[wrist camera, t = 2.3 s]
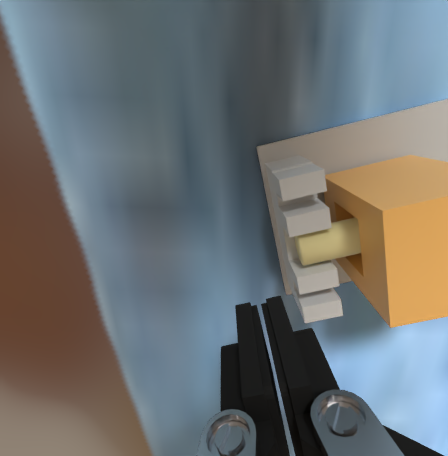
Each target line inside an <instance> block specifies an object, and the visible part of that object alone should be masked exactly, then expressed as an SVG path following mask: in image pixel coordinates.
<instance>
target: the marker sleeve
mask: <svg viewBox="0 0 448 456" xmlns="http://www.w3.org/2000/svg"><path fill="white" fill-rule="evenodd" d="M325 179H326V187H327V191H325V192H324V198H325V205H326V206H328V207H329V210H330V218H331V223H333V222H337V221H341V220H346V219H350V218H355V217H356V218H357V219H358V224H359V234H360V245H361V253H359V254H355V255H350V256H345V257H341V258H336V259H335V260H336V261H337V262H338V264H339V265H340V266H341V267H342V268H343V270H344V271H345V272H346V273H347V275H348V276H349V277H350V278H351V280H352V281H353V282H354V283H355V285H356V286H357V287H358V288H359V290H360V291H361V292H362V293H363V294H364V296H365V297H366V298H367V299H368V301H369V302H370V303H371V304H372V306H373V307H374V308H375V309H376V311H377V312H378V313H379V314H380V316H381V317H382V318H383V319H384V320H385V322H386V323H387V324H388V325H389V327H390V328H392V327H397V326H402V325H407V324H412V323H417V322H422V321H427V320H432V319H437V318H442V317H447V316H448V162H445V161H440V160H435V159H429V158H424V157H419V156H414V155H407V156H403V157H398V158H394V159H390V160H386V161H382V162H377V163H373V164H369V165H365V166H361V167H357V168H352V169H348V170H344V171H340V172H336V173H331V174H327V175H325Z"/></svg>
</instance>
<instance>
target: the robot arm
mask: <svg viewBox="0 0 448 456" xmlns="http://www.w3.org/2000/svg"><path fill="white" fill-rule="evenodd" d="M266 301H267V303H264V304H261V306H262V310H263V315H264V319H265V324H266V328H267V333H268V338H269V342H270V347H271V351H272V356H273V360H274V365H275V369H276V374H277V379H278V383H279V388H280V392H281V396H282V401H283V405H284V409H285V413H286V417H287V422H288V426H289V430H290V434H291V438H292V443H293V447H294V451H295V455H296V456H444V455H442V454H440V453H438V452H436V451H434V450H432V449H430V448H428V447H426V446H424V445H422V444H420V443H418V442H416V441H414V440H412V439H410V438H408V437H406V436H404V435H402V434H400V433H398V432H396V431H394V430H392V429H390V428H388V427H386V426H384V425H382V424H381V422H380V421H379V420H378V418H377V417H376V416H375V414H374V413H373V411H372V410H371V409H370V407H369V406H368V405H367V403H366V402H365V401H364V400H363V399H362V398H360V397H359V396H357V395H356V394H354V393H352V392H348V391H345V390H340V389H339V387H338V385H337V382H336V380H335V378H334V376H333V373H332V371H331V369H330V367H329V364H328V362H327V360H326V358H325V355H324V353H323V351H322V349H321V346H320V344H319V342H318V340H317V337H316V335H315V333H314V331H313V329H312V328H309V329H304V330H299V331H294V332H293V330H292V327H291V324H290V322H289V319H288V316H287V313H286V310H285V307H284V304H283V301H282V298H281V296H277V297H272V298H268V299H266ZM235 307H236V321H237V334H238V343H236V344H231V345H226V346H222V347H221V412H220V413H218V414H216V415H215V416H213V417H212V418H211V419H210V420H209V421H208V422H207V424H206V425H205V427H204V429H203V431H202V434H201V438H200V443H199V447H198V452H197V456H290V454H289V449H288V445H287V440H286V435H285V430H284V425H283V420H282V415H281V411H280V406H279V401H278V396H277V391H276V386H275V381H274V376H273V372H272V367H271V363H270V359H269V354H268V350H267V346H266V342H265V338H264V334H263V330H262V325H261V321H260V317H259V313H258V309H257V305H254V306H251V304H250V302H249V303H244V304H239V305H236V306H235Z"/></svg>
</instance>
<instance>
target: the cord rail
mask: <svg viewBox="0 0 448 456" xmlns="http://www.w3.org/2000/svg"><path fill="white" fill-rule="evenodd" d="M256 148H257V153H258V158H259V163H260V168H261V173H262V178H263V183H264V188H265V193H266V198H267V203H268V208H269V213H270V218H271V223H272V228H273V233H274V238H275V243H276V248H277V253H278V258H279V263H280V268H281V273H282V278H283V283H284V288H285V292H286V295H289V294H293V296H294V298H295V301H296V303H297V305H298V307H299V310H300V312H301V315H302V317H303V319H304V322H305V323H310V322H315V321H319V320H324V319H329V318H334V317H339V316H343V310H342V303H341V299H340V297H339V296H338V294H337V293H336V291H335V290H334V287H338V286H339V284H341V283H346V282H351V281H352V280H351V278H350V277H349V276H348V275H347V273H346V272H345V271H344V270H343V268H342V267H341V266H340V265H339V264H338V262H337V261H336V260H335V259H336V258H341V257H345V256H350V255H355V254H359V253H361V245H360V234H359V224H358V219H357V218H356V217H355V218H350V219H346V220H341V221H337V222H333V223H331V218H330V210H329V207H328V206H326V205H325V198H324V192H325V191H327V187H326V179H325V175H327V174H331V173H336V172H340V171H344V170H348V169H352V168H357V167H361V166H365V165H369V164H373V163H377V162H382V161H386V160H390V159H394V158H398V157H403V156H407V155H414V156H419V157H424V158H429V159H435V160H440V161H445V162H448V99H445V100H441V101H437V102H433V103H429V104H425V105H421V106H417V107H413V108H409V109H405V110H401V111H397V112H393V113H389V114H385V115H381V116H377V117H373V118H369V119H365V120H361V121H357V122H353V123H349V124H345V125H341V126H337V127H333V128H329V129H325V130H321V131H317V132H313V133H309V134H305V135H300V136H296V137H292V138H288V139H284V140H280V141H276V142H272V143H268V144H264V145H260V146H256Z"/></svg>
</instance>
